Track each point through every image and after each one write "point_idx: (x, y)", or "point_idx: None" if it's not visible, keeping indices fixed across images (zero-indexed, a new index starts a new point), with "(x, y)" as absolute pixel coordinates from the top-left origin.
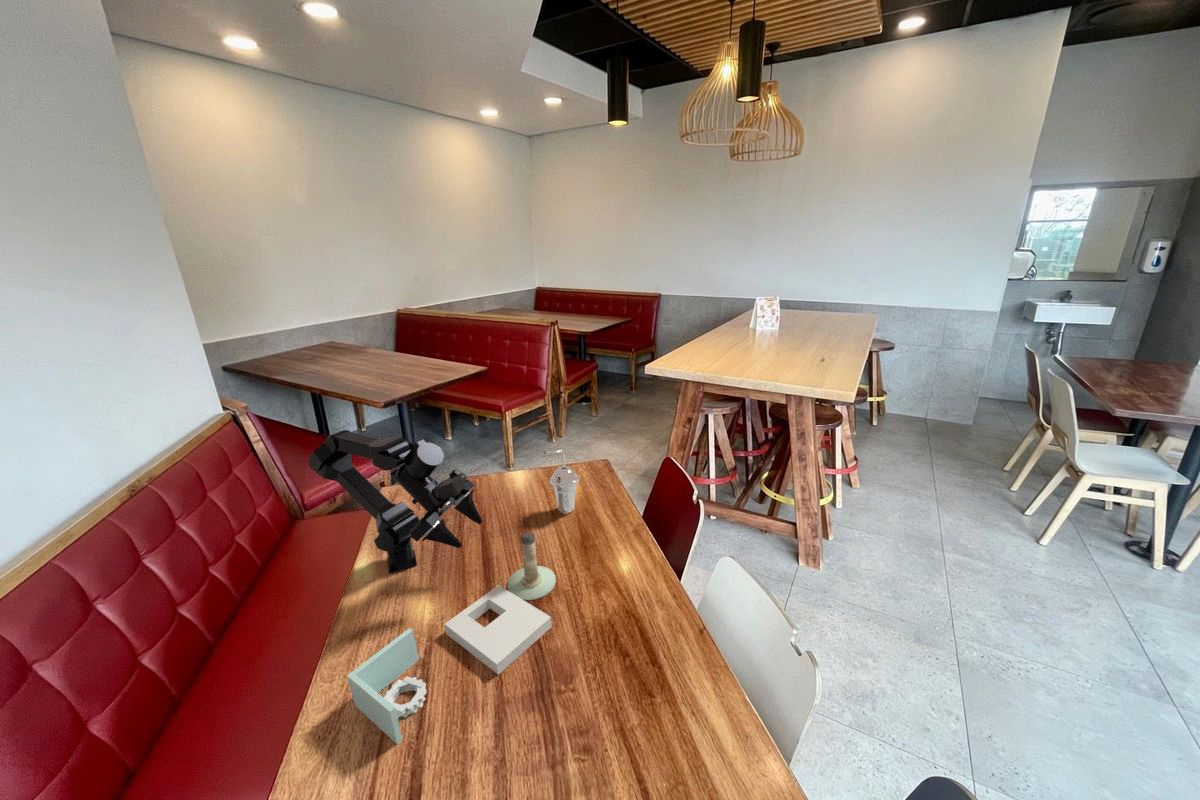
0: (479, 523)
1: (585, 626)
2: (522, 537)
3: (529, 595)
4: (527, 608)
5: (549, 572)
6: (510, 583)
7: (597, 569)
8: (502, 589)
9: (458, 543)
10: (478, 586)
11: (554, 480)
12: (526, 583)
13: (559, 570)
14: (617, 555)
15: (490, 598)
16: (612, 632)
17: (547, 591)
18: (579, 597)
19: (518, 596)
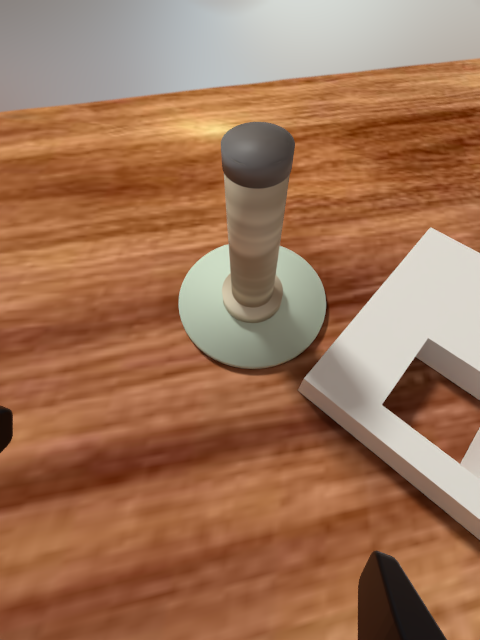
0: (6, 437)
1: (402, 192)
2: (263, 160)
3: (313, 299)
4: (409, 280)
5: (218, 255)
6: (256, 357)
7: (217, 169)
8: (327, 362)
9: (419, 597)
10: (251, 479)
11: None
12: (279, 301)
13: (206, 238)
14: (175, 137)
15: (376, 399)
16: (410, 155)
17: (298, 257)
18: (312, 200)
19: (318, 327)
